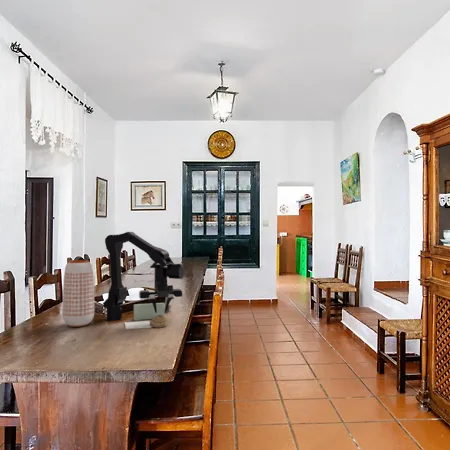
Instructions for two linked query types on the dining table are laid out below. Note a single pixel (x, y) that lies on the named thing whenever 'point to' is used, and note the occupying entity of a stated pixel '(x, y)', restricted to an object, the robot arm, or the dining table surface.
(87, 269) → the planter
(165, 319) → the seashell
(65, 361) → the dining table surface
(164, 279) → the robot arm
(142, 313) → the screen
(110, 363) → the dining table surface
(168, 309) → the small beige block
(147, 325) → the tile
